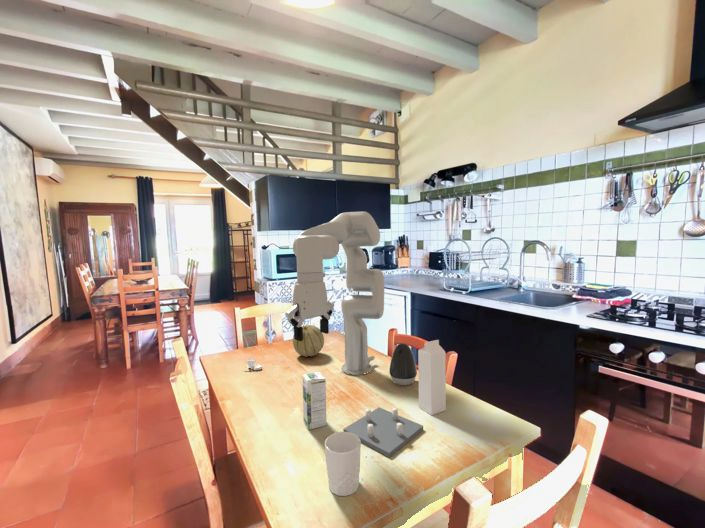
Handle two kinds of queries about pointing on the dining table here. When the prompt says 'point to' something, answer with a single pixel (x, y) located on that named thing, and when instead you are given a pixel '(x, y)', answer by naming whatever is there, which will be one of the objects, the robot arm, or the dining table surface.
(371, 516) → the dining table surface
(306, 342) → the cantaloupe
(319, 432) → the dining table surface
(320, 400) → the syrup box
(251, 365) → the pacifier
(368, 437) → the standoff base
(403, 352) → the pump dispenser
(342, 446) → the white cup
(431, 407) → the milk
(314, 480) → the dining table surface
